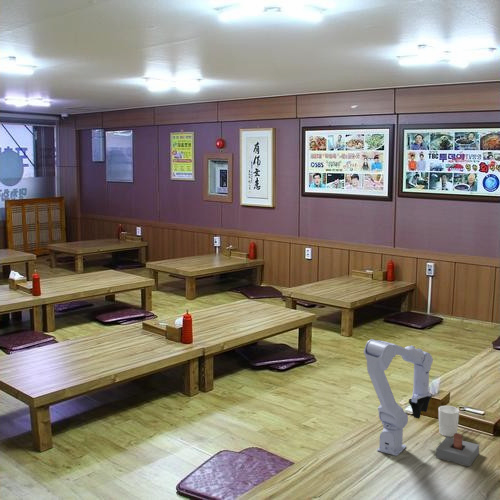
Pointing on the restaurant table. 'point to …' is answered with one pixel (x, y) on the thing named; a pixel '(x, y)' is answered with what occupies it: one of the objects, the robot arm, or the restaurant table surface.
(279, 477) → the restaurant table surface
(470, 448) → the block
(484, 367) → the restaurant table surface
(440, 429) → the white cup
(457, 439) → the pin
